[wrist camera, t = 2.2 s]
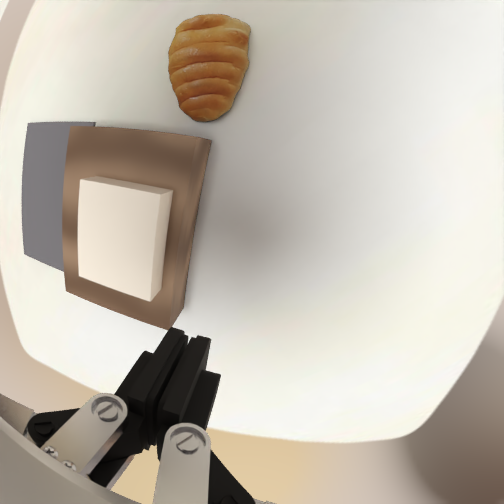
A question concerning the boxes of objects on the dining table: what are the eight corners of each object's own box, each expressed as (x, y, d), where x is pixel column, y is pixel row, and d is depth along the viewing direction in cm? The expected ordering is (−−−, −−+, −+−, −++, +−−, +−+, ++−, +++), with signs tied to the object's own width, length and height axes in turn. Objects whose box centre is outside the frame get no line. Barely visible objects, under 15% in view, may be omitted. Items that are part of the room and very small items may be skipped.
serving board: (96, 127, 21) (70, 125, 18) (211, 140, 21) (197, 137, 17) (87, 275, 27) (65, 290, 23) (183, 308, 26) (169, 330, 23)
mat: (29, 123, 21) (28, 123, 21) (95, 122, 21) (93, 122, 21) (25, 253, 27) (24, 254, 27) (85, 278, 27) (83, 279, 27)
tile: (96, 176, 19) (80, 179, 17) (173, 190, 19) (160, 194, 17) (93, 266, 22) (78, 276, 19) (161, 288, 21) (150, 301, 19)
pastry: (249, 121, 20) (243, 115, 17) (171, 125, 21) (152, 121, 18) (252, 25, 17) (246, 5, 14) (177, 33, 18) (161, 17, 14)
